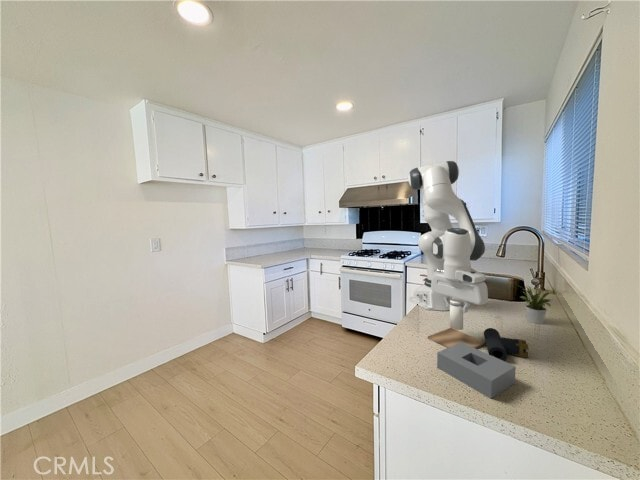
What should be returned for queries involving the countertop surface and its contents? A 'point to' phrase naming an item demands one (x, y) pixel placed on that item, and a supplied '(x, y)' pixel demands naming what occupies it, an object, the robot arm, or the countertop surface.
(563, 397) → the countertop surface
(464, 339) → the pad
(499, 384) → the socket block
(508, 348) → the pipe connector
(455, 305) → the plug
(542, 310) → the house plant
